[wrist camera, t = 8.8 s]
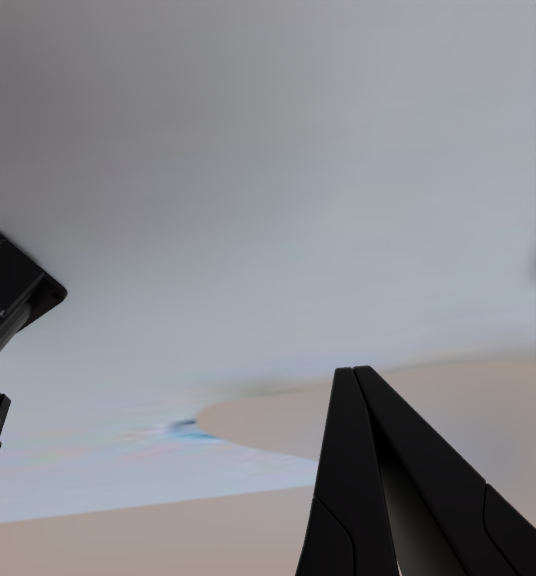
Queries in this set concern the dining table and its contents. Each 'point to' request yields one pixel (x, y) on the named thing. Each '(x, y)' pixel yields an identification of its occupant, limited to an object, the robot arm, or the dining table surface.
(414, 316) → the dining table surface
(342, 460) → the robot arm
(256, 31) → the dining table surface
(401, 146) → the dining table surface
